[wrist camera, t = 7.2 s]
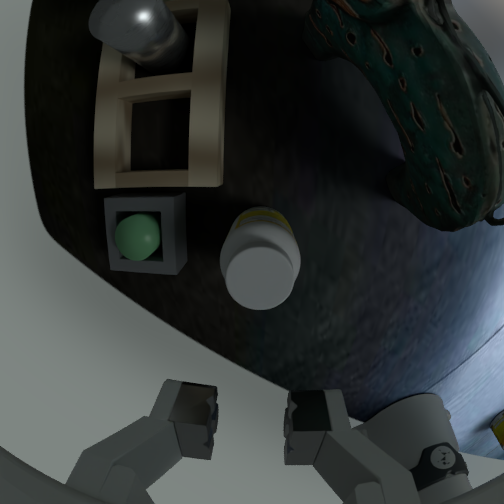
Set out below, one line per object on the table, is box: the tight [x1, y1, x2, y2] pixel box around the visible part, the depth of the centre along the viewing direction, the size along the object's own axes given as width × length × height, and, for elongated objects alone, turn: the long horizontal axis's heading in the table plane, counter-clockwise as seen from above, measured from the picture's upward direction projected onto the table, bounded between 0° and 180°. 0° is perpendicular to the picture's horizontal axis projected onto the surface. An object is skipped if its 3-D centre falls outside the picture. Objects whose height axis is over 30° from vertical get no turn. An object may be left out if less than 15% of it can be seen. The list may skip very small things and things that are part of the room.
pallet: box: [94, 0, 231, 189], centre depth 21 cm, size 17×11×3 cm, turn 178°
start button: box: [115, 211, 162, 261], centre depth 23 cm, size 4×4×3 cm
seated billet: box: [89, 0, 194, 76], centre depth 16 cm, size 5×5×10 cm
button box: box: [104, 192, 187, 275], centre depth 24 cm, size 6×6×4 cm
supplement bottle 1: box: [220, 207, 300, 310], centre depth 21 cm, size 5×5×10 cm
